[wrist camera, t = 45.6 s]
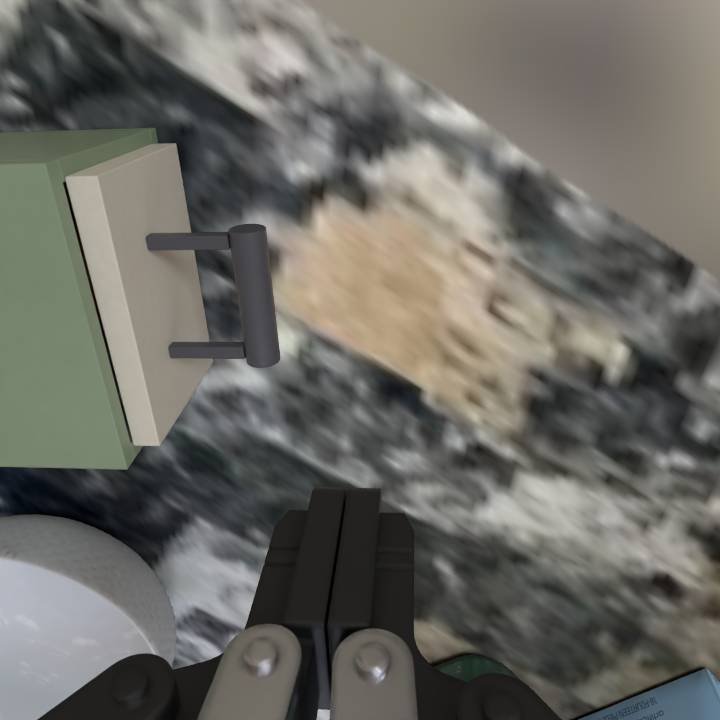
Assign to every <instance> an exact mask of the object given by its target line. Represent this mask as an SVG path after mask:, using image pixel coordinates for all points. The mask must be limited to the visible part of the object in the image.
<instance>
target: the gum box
mask: <svg viewBox="0 0 720 720" xmlns="http://www.w3.org/2000/svg"><path fill="white" fill-rule="evenodd" d="M578 720H720V682H719V681H718V680H717V679H716V678H715V676H714V675H713V674H712V673H711V672H710V671H709V670H708V669H707V668H704V669H702V670H700V671H697V672H695V673H692V674H690V675H687V676H685V677H682V678H680V679H677V680H675V681H672V682H670V683H667V684H665V685H662V686H660V687H658V688H655V689H653V690H650V691H647V692H645V693H642V694H640V695H637V696H635V697H632V698H630V699H628V700H625V701H623V702H620V703H618V704H616V705H613V706H611V707H608V708H606V709H603V710H601V711H598V712H596V713H593V714H591V715H588V716H586V717H583V718H581V719H578Z"/></svg>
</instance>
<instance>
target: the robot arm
mask: <svg viewBox="0 0 720 720" xmlns="http://www.w3.org/2000/svg"><path fill="white" fill-rule="evenodd" d="M318 709H328V710H330V720H561V719H560V718H559V717H558V716H557V715H556V714H555V713H554V712H553V710H552V709H551V708H550V707H549V706H548V705H547V704H546V703H545V702H544V701H543V700H542V699H541V698H540V697H539V696H538V695H537V694H536V693H535V692H534V691H533V690H532V689H531V688H530V687H529V686H527V685H526V684H525V683H523V682H522V681H520V680H519V679H517V678H514V677H512V676H509V675H506V674H501V673H487V674H482V675H479V676H477V677H475V678H473V679H471V680H470V681H469V682H466V681H463V680H460V679H458V678H455V677H453V676H450V675H447V674H445V673H443V672H441V671H439V670H438V669H436V668H434V667H433V666H432V665H431V664H430V663H428V662H427V661H426V659H425V658H424V657H423V656H422V654H421V653H420V651H419V650H418V647H417V645H416V642H415V639H414V530H413V528H412V526H411V524H410V523H409V521H408V519H407V517H406V515H405V514H404V513H382V491H381V489H375V488H349V489H348V492H347V488H329V487H314V488H313V491H312V495H311V499H310V503H309V508H308V511H302V510H289V511H288V512H287V513H286V514H285V516H284V517H283V518H282V519H281V520H280V521H279V523H278V524H277V525H276V526H275V528H274V532H273V535H272V539H271V542H270V545H269V550H268V552H267V556H266V559H265V565H264V566H263V569H262V573H261V576H260V580H259V583H258V586H257V590H256V593H255V597H254V600H253V604H252V607H251V610H250V614H249V617H248V621H247V624H246V627H245V629H244V631H242V632H241V633H239V634H238V635H237V636H235V637H234V638H233V640H232V641H231V642H230V643H229V644H228V646H227V647H226V649H225V651H224V653H222V654H221V655H219V656H217V657H215V658H213V659H211V660H208V661H205V662H201V663H198V664H194V665H190V666H186V667H182V668H178V669H174V670H172V667H171V666H170V664H169V663H168V662H167V661H166V660H165V659H164V658H162V657H160V656H158V655H155V654H149V653H142V654H136V655H131V656H128V657H126V658H123V659H121V660H119V661H118V662H116V663H114V664H113V665H111V666H110V667H109V668H107V669H106V670H104V671H103V672H102V673H100V674H99V675H98V676H96V677H95V678H93V679H92V680H91V681H89V682H88V683H87V684H85V685H84V686H83V687H81V688H80V689H78V690H77V691H76V692H74V693H73V694H72V695H70V696H69V697H67V698H66V699H65V700H63V701H62V702H61V703H59V704H58V705H56V706H55V707H54V708H52V709H51V710H50V711H48V712H47V713H45V714H44V715H43V716H41V717H40V718H39V719H37V720H316V718H317V711H318Z"/></svg>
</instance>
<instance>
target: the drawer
mask: <svg viewBox="0 0 720 720" xmlns="http://www.w3.org/2000/svg"><path fill="white" fill-rule="evenodd" d="M65 180H66V182H63V185H64V189H65V193H66V197H67V200H68V204H69V208H70V212H71V215H72V216H75V219H76V223H77V227H78V231H79V235H80V239H81V242H82V246H83V250H84V254H85V258H86V262H87V266H88V270H89V274H90V277H91V281H92V285H93V289H94V293H95V297H96V301H97V305H98V308H99V312H100V316H101V320H102V324H103V328H104V332H105V334H104V335H103V339H104V343H105V347H106V351H107V354H108V358H109V362H110V366H111V370H112V374H113V378H114V381H115V385H116V389H117V393H118V397H119V401H120V404H121V406H122V405H123V406H124V410H125V413H126V417H127V421H128V425H129V429H130V433H131V437H132V441H133V444H134V446H160V445H161V443H162V442H163V440H164V439H165V437H166V435H167V434H168V432H169V431H170V429H171V428H172V426H173V424H174V423H175V421H176V420H177V418H178V417H179V415H180V413H181V412H182V410H183V409H184V407H185V406H186V404H187V403H188V401H189V399H190V398H191V396H192V395H193V393H194V392H195V390H196V388H197V387H198V385H199V384H200V382H201V381H202V379H203V377H204V376H205V374H206V373H207V371H208V370H209V368H210V366H211V365H212V363H213V359H244V358H245V357H246V361H247V363H248V365H250V366H252V367H256V368H264V367H269V366H272V365H275V364H276V363H278V362H279V360H280V351H279V342H278V333H277V324H276V315H275V306H274V297H273V288H272V278H271V269H270V260H269V251H268V242H267V233H266V227H265V226H263V225H259V224H243V225H238V226H234V227H232V228H230V229H229V231H228V232H194V233H191V228H190V222H189V217H188V211H187V205H186V199H185V193H184V187H183V181H182V175H181V169H180V163H179V158H178V152H177V146H176V144H175V143H167V144H151V145H148V146H145V147H143V148H140V149H137V150H135V151H132V152H129V153H127V154H124V155H121V156H119V157H116V158H113V159H111V160H108V161H105V162H103V163H100V164H97V165H95V166H92V167H89V168H87V169H84V170H81V171H79V172H76V173H73V174H71V175H68V176H66V177H65ZM230 248H231V254H232V261H233V268H234V275H235V282H236V289H237V297H238V304H239V311H240V318H241V325H242V332H243V339H244V342H210V341H209V335H208V329H207V323H206V317H205V311H204V305H203V299H202V293H201V287H200V281H199V276H198V270H197V264H196V258H195V252H194V250H228V249H230Z"/></svg>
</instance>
